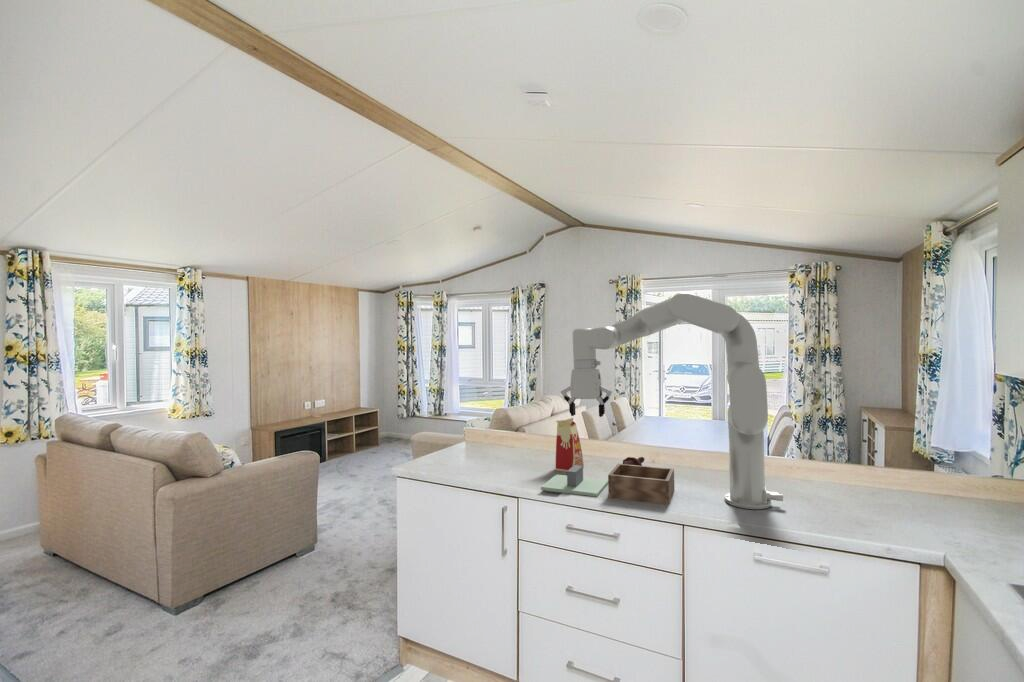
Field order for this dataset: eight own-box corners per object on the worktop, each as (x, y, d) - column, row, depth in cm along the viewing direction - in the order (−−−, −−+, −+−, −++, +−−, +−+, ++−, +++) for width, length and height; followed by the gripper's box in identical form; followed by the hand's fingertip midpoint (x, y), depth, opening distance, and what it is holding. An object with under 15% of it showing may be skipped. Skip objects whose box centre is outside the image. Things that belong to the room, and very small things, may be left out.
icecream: (631, 464, 166) (653, 459, 177) (614, 455, 171) (636, 451, 182) (627, 482, 167) (648, 477, 177) (609, 473, 172) (631, 468, 183)
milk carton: (583, 467, 187) (582, 416, 187) (573, 473, 179) (572, 420, 179) (562, 464, 192) (561, 414, 192) (552, 470, 184) (550, 418, 184)
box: (674, 493, 154) (674, 468, 154) (669, 508, 141) (668, 481, 141) (618, 487, 161) (618, 463, 161) (608, 500, 148) (608, 474, 148)
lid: (609, 485, 163) (608, 465, 163) (597, 499, 149) (597, 477, 149) (556, 480, 171) (555, 460, 171) (541, 492, 157) (540, 471, 157)
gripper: (613, 363, 160) (615, 414, 161) (563, 364, 168) (565, 413, 168) (608, 365, 154) (610, 418, 154) (556, 366, 161) (559, 416, 161)
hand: (587, 415), depth 161 cm, fingers open, 9 cm apart
